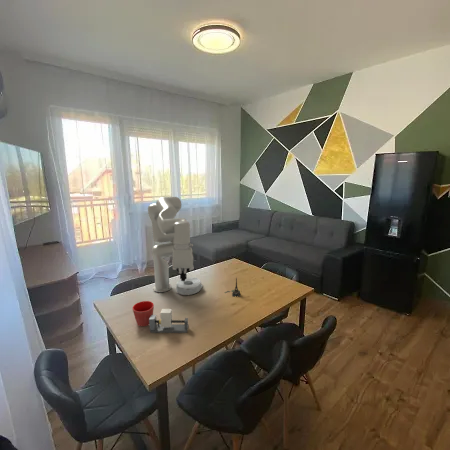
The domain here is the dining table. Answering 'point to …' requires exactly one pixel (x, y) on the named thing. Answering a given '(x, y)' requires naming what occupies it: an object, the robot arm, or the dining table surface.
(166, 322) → the white sliding block
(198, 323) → the dining table surface
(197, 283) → the cable
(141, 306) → the flower pot
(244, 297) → the dining table surface
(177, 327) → the grey slider rail
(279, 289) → the dining table surface
